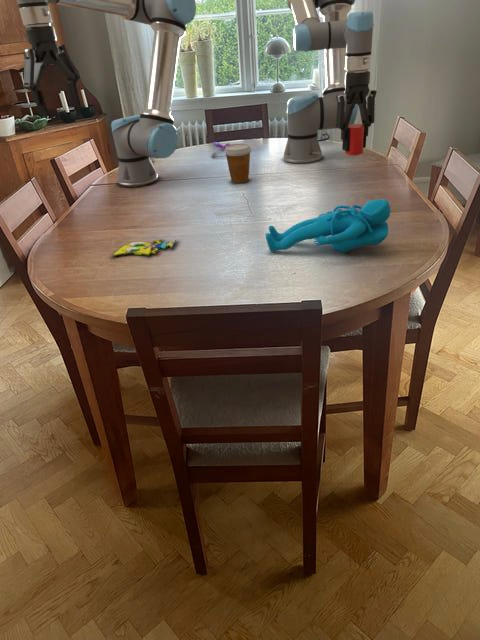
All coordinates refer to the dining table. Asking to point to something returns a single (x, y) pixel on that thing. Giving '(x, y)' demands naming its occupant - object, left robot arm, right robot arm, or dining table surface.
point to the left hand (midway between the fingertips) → (61, 111)
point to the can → (355, 139)
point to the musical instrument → (220, 148)
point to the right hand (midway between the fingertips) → (354, 148)
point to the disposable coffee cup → (238, 162)
